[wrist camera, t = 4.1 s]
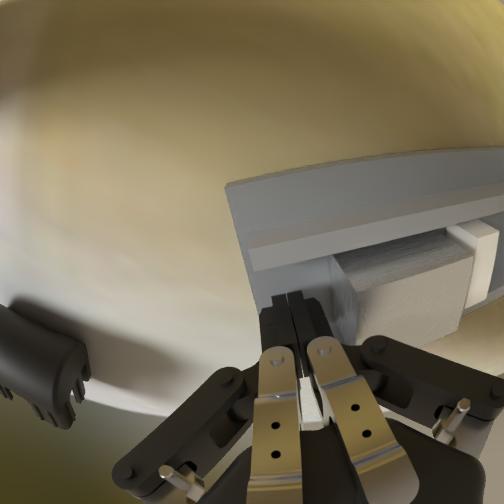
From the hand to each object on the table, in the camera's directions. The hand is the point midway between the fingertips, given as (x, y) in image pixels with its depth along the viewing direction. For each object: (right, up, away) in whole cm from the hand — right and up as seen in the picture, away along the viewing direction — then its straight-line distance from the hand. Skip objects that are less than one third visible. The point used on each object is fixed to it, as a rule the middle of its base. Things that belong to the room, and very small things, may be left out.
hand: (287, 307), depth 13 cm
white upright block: (+11, +3, 0) cm, 11 cm away
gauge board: (+9, +3, +1) cm, 10 cm away
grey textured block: (+6, +2, 0) cm, 6 cm away
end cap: (-19, -4, +4) cm, 20 cm away
